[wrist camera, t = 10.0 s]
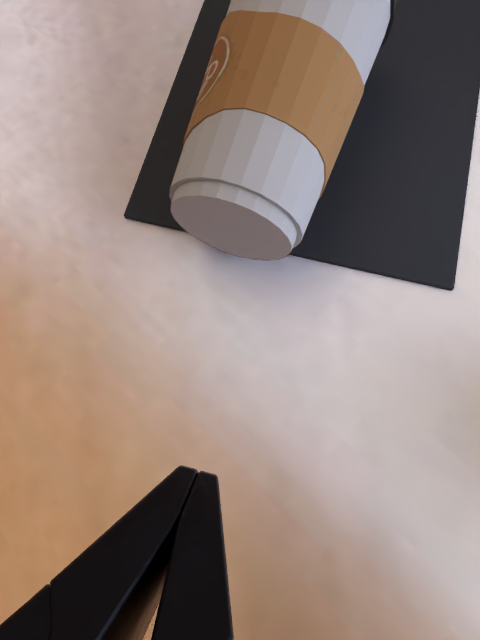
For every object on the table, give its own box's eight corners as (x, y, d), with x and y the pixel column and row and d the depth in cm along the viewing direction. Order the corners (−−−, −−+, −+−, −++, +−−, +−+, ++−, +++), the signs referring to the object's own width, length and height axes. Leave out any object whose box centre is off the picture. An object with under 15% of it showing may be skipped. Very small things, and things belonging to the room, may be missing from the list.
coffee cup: (134, 220, 23) (228, -5, 26) (274, 282, 25) (346, 68, 28) (156, 145, 15) (287, -165, 18) (357, 245, 17) (445, -47, 20)
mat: (451, 290, 23) (454, 288, 23) (125, 218, 25) (123, 215, 24) (491, -14, 29) (493, -19, 29) (226, -55, 31) (226, -60, 30)
